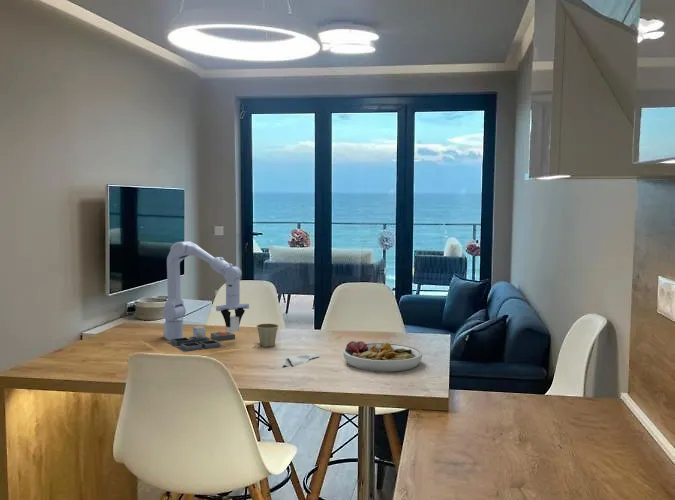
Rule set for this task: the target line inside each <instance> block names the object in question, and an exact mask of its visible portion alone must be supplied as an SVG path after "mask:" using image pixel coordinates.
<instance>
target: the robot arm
mask: <svg viewBox="0 0 675 500" xmlns="http://www.w3.org/2000/svg"><path fill="white" fill-rule="evenodd" d="M189 256H195V257H196V258H199V259H200V260H202V261H203V262H205V263H207V264H209V266H210V268H211V269H212V270H214V271H215V272H217V273H218V274H221V275H222V276H223V278H224V280H225V304H223V305H222V304H221V305H216V306H215V311H216V312H220V313H221V315H222V317H223V320H224V324H225V327H229V326H230V316H231V313H232V312H231V311H233V310H234V313H235V316H238V317H239V326H240V324H241V320H242V318H243V315H244V314H245V309H250V304H249V303H240V302H241V301H240V294H241V290H240V289H241V288H240V279H241V277H242V274H243V273H242V272H243V271H242V270H241V268H240V267H239V266H237V265H233V263H229V262H227V261H226V260H225V258H224V257H222V256H216V257H214V256H213V255H212V254H210V253H209V252H207V251H206V250H204V249H203V248H202V247H200V246H199V245H198V244H196V243H194V242H193V241H190V240H185V241H176V242H174V243H173V244H172V245H171V246H170V250H169V253H168V255H167V256H166V257H167V258H166V274H167V275H166V280H167V300H166V301H165V303H164V309H163V310H162V316H163V318H164V319H165V322H164V323H163V338H165V339H166V340H168V341H171V339H176V338H184V316H186V313H187V311H186V307H185V304H184V300H183V298H182V297H181V295H182V294H181V268H180V267H181V262H182V261H183V260H184V259H185V258H187V257H189Z"/></svg>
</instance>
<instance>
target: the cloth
mask: <svg viewBox="0 0 675 500" xmlns="http://www.w3.org/2000/svg"><path fill="white" fill-rule="evenodd" d="M316 358H320V354H319V353H303V354H302V353H301V354H299V355H294V356H287V357H285V358H284V359H283V361H282V365H281V368H284V366H287V367H292V366H293V367H296V366H297V367H298V366H300V365H304V364H307V363H309V360H312V359H316Z"/></svg>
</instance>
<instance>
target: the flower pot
mask: <svg viewBox="0 0 675 500" xmlns="http://www.w3.org/2000/svg"><path fill="white" fill-rule="evenodd" d="M256 328H257V331H258V332H257V333H258V337H259V339H258V340H259V345H260V346H261V347H263V348H264V347H265V348H268V347H271V348H273V347H274V346H275V345H276V338H277V331H278V328H279V324H275V323H258V324H257V325H256Z"/></svg>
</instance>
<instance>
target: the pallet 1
mask: <svg viewBox="0 0 675 500" xmlns="http://www.w3.org/2000/svg"><path fill="white" fill-rule="evenodd" d="M209 340H211V338H210V337H207V336H206V335H205V338H204V339H194V338H193V336H189V337H186V336H185V337H183V338H176V339H171V340H170V341H165V343H166V344H168V345H170V346H172V347H174V348H176V347H180V346H181V344H184V343H192V342H197V343H199V342H201V341H209Z"/></svg>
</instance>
